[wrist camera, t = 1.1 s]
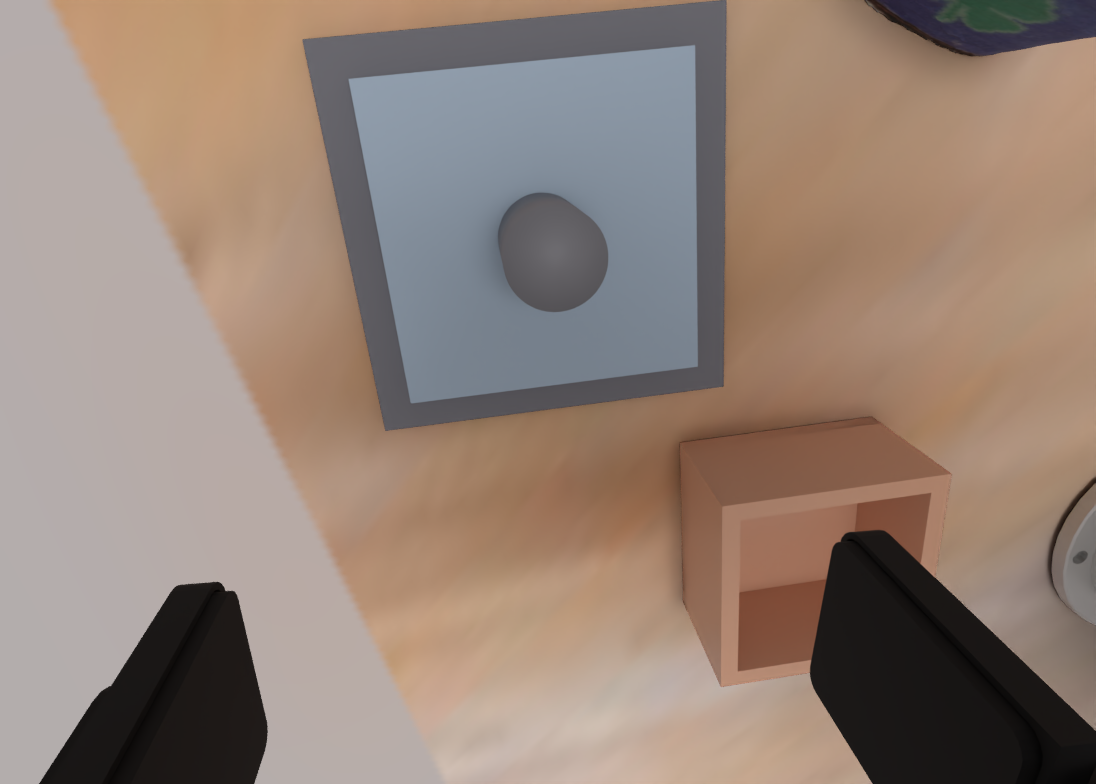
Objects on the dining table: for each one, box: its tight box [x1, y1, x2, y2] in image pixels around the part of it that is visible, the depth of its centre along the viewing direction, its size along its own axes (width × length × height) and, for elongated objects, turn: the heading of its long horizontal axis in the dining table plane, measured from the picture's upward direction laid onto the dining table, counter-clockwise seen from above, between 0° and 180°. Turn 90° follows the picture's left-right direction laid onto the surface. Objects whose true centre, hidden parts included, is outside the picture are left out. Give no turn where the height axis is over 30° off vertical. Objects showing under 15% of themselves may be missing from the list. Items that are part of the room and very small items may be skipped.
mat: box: [303, 0, 726, 431], centre depth 28 cm, size 16×16×1 cm
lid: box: [349, 45, 698, 403], centre depth 25 cm, size 13×13×6 cm
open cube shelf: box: [680, 417, 952, 687], centre depth 32 cm, size 10×10×6 cm
